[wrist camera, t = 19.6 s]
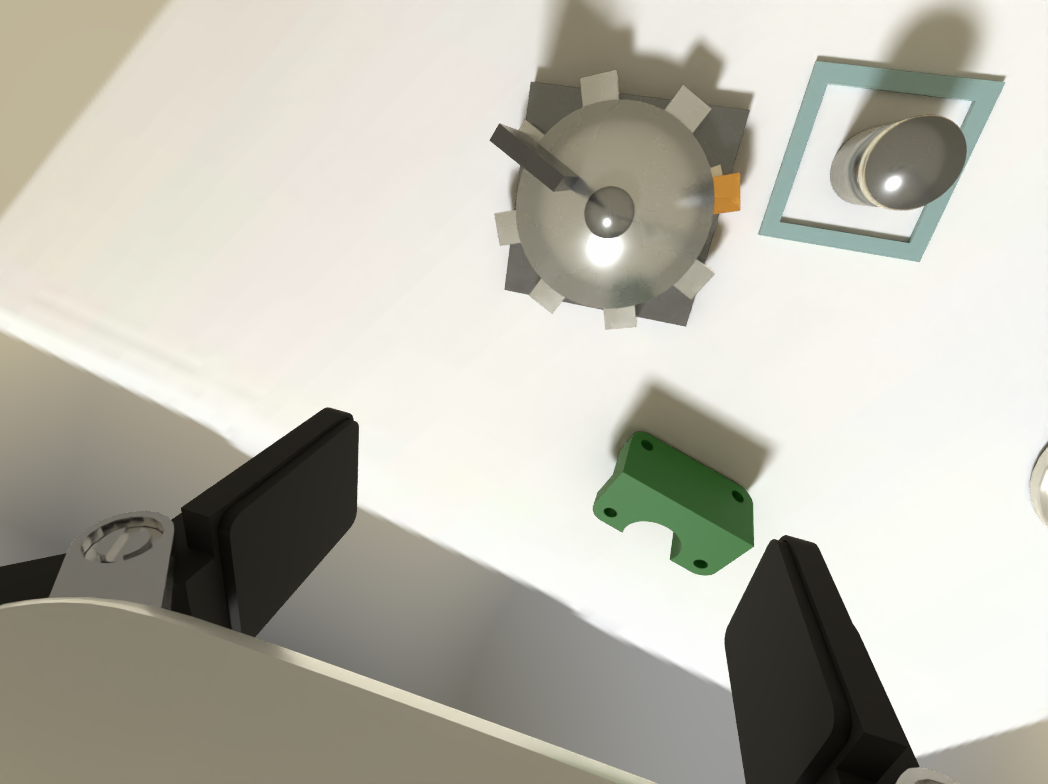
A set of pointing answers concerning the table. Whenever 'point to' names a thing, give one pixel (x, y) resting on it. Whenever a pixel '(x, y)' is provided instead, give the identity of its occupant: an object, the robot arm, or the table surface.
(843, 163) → the silver metal cylinder
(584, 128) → the sprocket
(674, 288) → the sprocket base
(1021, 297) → the table surface
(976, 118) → the seat bay
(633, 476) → the green mounting bracket
